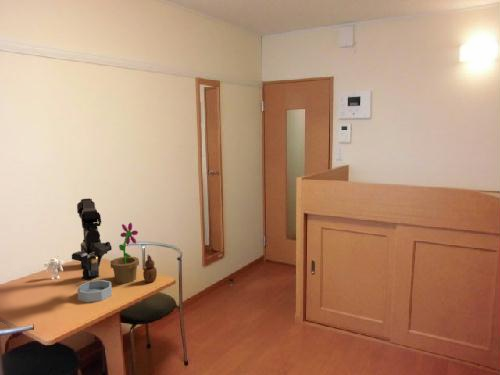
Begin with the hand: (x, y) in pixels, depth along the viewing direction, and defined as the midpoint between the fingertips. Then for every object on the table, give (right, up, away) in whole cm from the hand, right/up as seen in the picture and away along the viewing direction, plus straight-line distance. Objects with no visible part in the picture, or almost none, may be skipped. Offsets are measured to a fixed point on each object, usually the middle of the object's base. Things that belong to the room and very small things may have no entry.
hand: (93, 269), depth 186 cm
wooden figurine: (+22, -10, +19) cm, 31 cm away
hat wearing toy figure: (-29, -10, +23) cm, 39 cm away
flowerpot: (+9, -10, +21) cm, 25 cm away
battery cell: (0, -3, 0) cm, 3 cm away
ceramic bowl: (0, -13, +2) cm, 13 cm away
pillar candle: (-18, -7, +42) cm, 46 cm away
